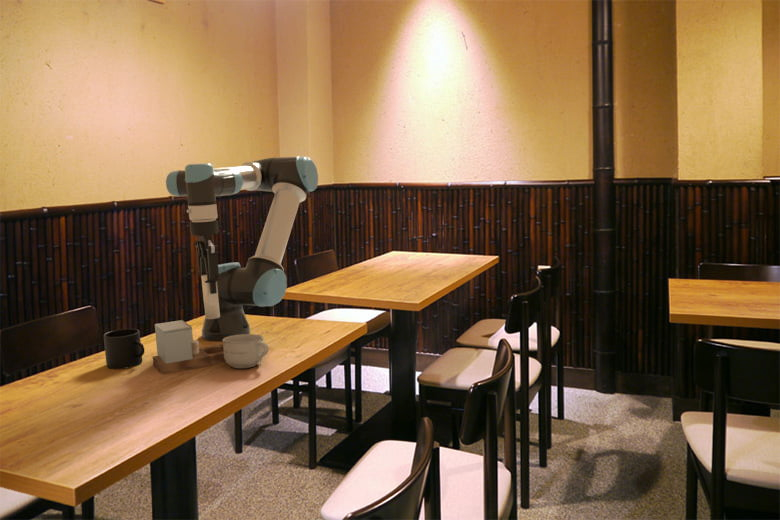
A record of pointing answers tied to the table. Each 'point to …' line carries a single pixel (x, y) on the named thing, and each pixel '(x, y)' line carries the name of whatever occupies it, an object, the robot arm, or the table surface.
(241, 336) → the teacup
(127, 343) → the mug
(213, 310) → the pin
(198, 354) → the wooden tray
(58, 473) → the table surface
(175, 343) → the cover
